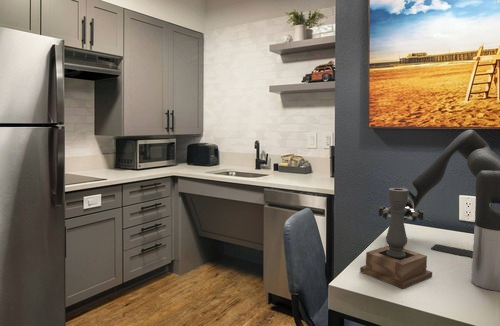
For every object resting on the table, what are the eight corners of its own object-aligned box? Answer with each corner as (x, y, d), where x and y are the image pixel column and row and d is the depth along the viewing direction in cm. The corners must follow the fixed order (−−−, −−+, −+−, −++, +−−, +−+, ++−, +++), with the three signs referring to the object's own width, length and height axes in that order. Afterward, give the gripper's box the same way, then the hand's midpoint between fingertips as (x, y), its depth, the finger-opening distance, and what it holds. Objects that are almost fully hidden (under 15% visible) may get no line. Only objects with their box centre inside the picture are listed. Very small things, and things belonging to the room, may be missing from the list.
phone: (435, 243, 144) (480, 252, 134) (435, 245, 144) (480, 254, 134) (430, 248, 138) (476, 257, 128) (430, 250, 138) (476, 260, 128)
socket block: (431, 276, 114) (433, 256, 113) (402, 289, 105) (403, 266, 105) (389, 261, 126) (389, 243, 125) (360, 271, 118) (360, 251, 117)
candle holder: (402, 265, 118) (405, 187, 116) (408, 273, 112) (412, 191, 110) (382, 264, 119) (385, 187, 116) (387, 272, 113) (390, 191, 110)
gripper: (382, 195, 139) (377, 204, 125) (424, 198, 133) (423, 208, 119) (381, 215, 140) (376, 225, 126) (423, 219, 134) (422, 231, 119)
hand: (399, 217), depth 122 cm, fingers open, 8 cm apart
